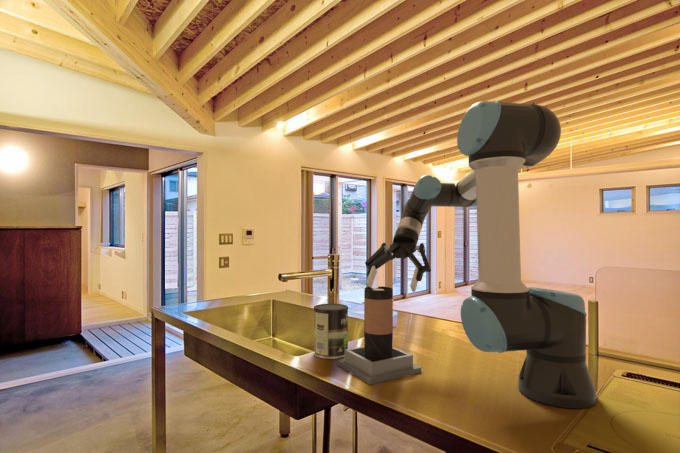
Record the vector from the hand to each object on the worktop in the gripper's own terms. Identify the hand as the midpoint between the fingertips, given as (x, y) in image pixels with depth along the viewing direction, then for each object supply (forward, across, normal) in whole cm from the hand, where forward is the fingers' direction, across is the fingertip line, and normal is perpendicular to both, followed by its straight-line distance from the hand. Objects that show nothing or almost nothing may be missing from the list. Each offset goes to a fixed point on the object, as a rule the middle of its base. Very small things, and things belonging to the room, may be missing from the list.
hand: (389, 287), depth 109 cm
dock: (+21, 0, -8) cm, 22 cm away
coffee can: (+18, +17, -11) cm, 27 cm away
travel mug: (+20, 0, -8) cm, 21 cm away
